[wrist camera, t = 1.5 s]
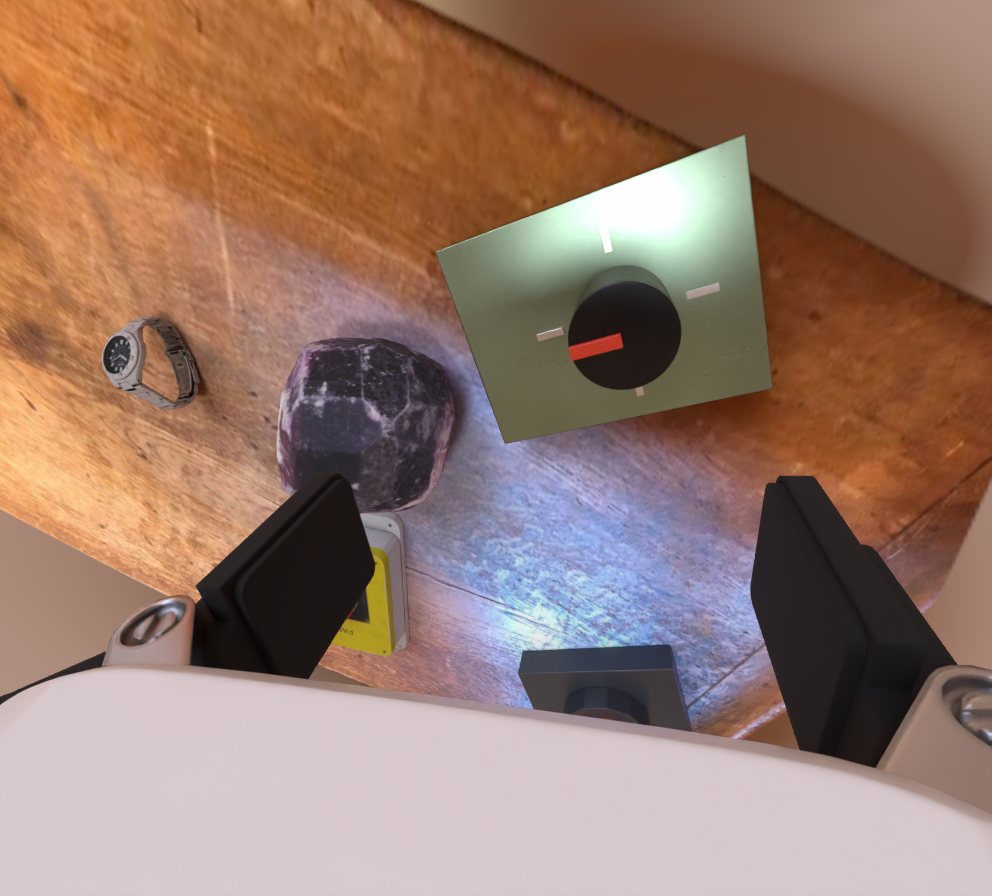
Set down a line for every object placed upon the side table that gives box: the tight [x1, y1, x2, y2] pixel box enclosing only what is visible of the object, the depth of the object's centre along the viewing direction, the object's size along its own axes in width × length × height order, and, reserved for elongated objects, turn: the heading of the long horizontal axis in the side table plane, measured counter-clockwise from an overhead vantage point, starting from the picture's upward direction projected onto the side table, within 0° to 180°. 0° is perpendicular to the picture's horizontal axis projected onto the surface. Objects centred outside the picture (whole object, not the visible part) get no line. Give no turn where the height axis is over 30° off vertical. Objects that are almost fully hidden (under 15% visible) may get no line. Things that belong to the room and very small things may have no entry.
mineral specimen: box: [277, 338, 455, 514], centre depth 27 cm, size 10×10×10 cm
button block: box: [518, 645, 692, 732], centre depth 38 cm, size 12×10×4 cm
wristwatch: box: [102, 317, 200, 409], centre depth 32 cm, size 4×6×5 cm, turn 13°
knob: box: [568, 266, 682, 390], centre depth 21 cm, size 4×4×5 cm
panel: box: [436, 135, 772, 444], centre depth 24 cm, size 14×11×3 cm
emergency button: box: [331, 512, 410, 656], centre depth 39 cm, size 9×4×15 cm
